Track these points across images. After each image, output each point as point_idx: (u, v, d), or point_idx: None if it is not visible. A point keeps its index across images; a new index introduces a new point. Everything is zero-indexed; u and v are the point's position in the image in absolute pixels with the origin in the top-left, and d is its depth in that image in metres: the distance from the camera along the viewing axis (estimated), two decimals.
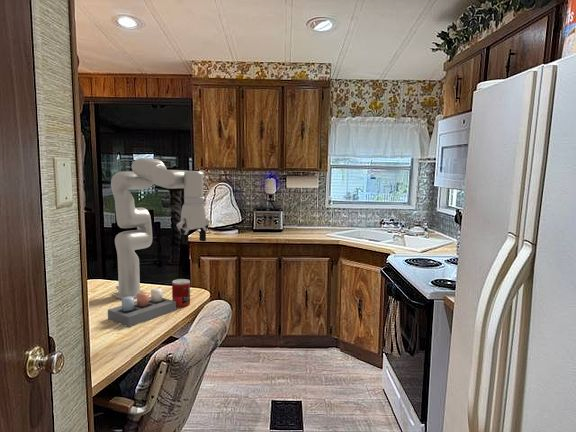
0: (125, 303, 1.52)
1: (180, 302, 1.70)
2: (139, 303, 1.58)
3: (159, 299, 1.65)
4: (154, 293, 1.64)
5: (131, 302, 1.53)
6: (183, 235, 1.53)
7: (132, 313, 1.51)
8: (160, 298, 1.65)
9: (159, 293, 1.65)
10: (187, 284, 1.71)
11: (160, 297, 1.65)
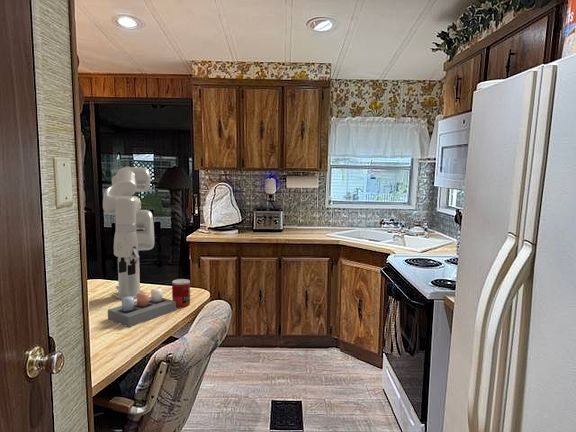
0: (125, 303, 1.52)
1: (180, 302, 1.70)
2: (139, 303, 1.58)
3: (159, 299, 1.65)
4: (154, 293, 1.64)
5: (131, 302, 1.53)
6: (133, 265, 1.51)
7: (132, 313, 1.51)
8: (160, 298, 1.65)
9: (159, 293, 1.65)
10: (187, 284, 1.71)
11: (160, 297, 1.65)
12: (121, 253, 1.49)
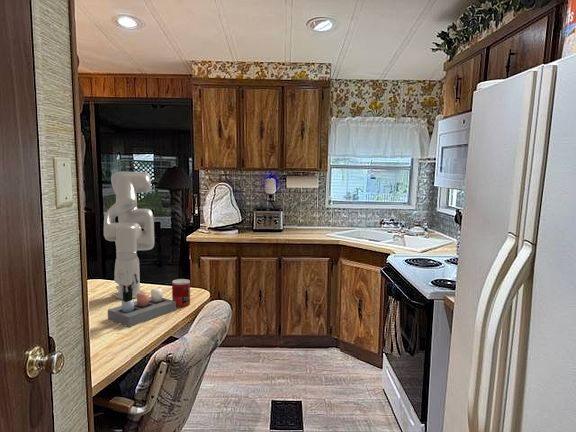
0: (125, 306, 1.52)
1: (180, 302, 1.70)
2: (139, 303, 1.58)
3: (159, 299, 1.65)
4: (154, 293, 1.64)
5: (131, 305, 1.53)
6: (130, 292, 1.53)
7: (132, 313, 1.51)
8: (160, 298, 1.65)
9: (159, 293, 1.65)
10: (187, 284, 1.71)
11: (160, 297, 1.65)
12: (122, 281, 1.50)
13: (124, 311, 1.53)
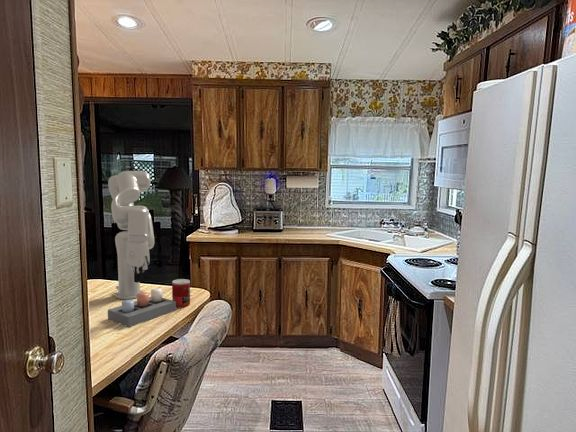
0: (125, 307, 1.52)
1: (180, 302, 1.70)
2: (139, 303, 1.58)
3: (159, 299, 1.65)
4: (154, 293, 1.64)
5: (131, 306, 1.53)
6: (141, 273, 1.58)
7: (132, 313, 1.51)
8: (160, 298, 1.65)
9: (159, 293, 1.65)
10: (187, 284, 1.71)
11: (160, 297, 1.65)
12: (133, 262, 1.55)
13: (124, 312, 1.53)
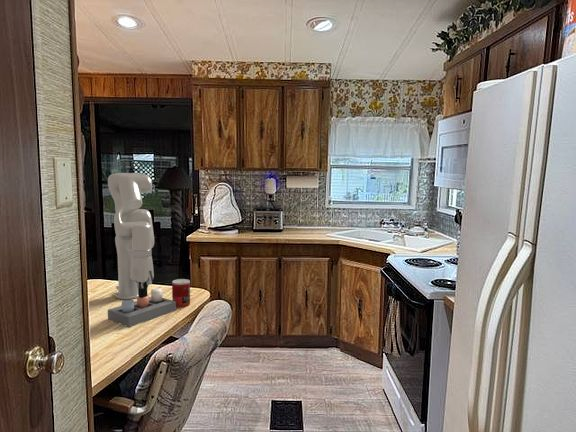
0: (125, 307, 1.52)
1: (180, 302, 1.70)
2: (139, 306, 1.58)
3: (159, 299, 1.65)
4: (154, 293, 1.64)
5: (131, 306, 1.53)
6: (145, 288, 1.59)
7: (132, 313, 1.51)
8: (160, 298, 1.65)
9: (159, 293, 1.65)
10: (187, 284, 1.71)
11: (160, 297, 1.65)
12: (137, 277, 1.56)
13: (124, 312, 1.53)
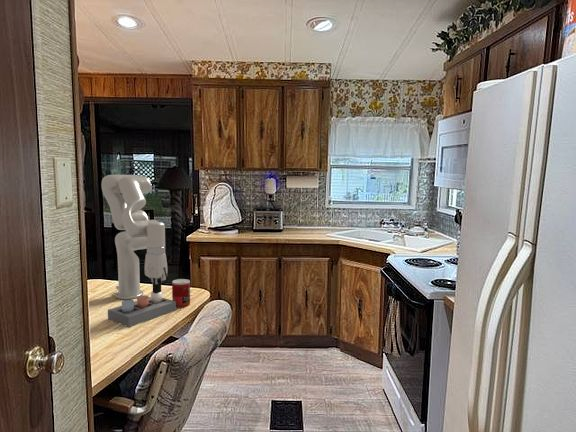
0: (125, 307, 1.52)
1: (180, 302, 1.70)
2: (139, 307, 1.58)
3: (159, 301, 1.65)
4: (154, 296, 1.64)
5: (131, 306, 1.53)
6: (159, 284, 1.65)
7: (132, 313, 1.51)
8: (160, 300, 1.65)
9: (160, 295, 1.65)
10: (187, 284, 1.71)
11: (160, 299, 1.65)
12: (152, 274, 1.62)
13: (124, 312, 1.53)
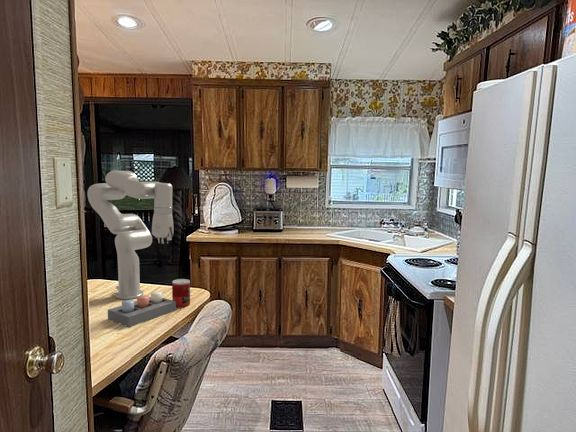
0: (125, 307, 1.52)
1: (180, 302, 1.70)
2: (139, 307, 1.58)
3: (159, 302, 1.65)
4: (154, 296, 1.64)
5: (131, 306, 1.53)
6: (165, 244, 1.70)
7: (132, 313, 1.51)
8: (160, 301, 1.65)
9: (160, 296, 1.65)
10: (187, 284, 1.71)
11: (160, 300, 1.65)
12: (158, 233, 1.67)
13: (124, 312, 1.53)
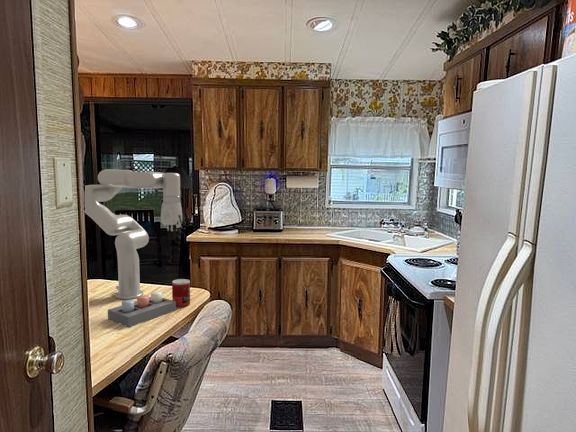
0: (125, 307, 1.52)
1: (180, 302, 1.70)
2: (139, 307, 1.58)
3: (159, 302, 1.65)
4: (154, 296, 1.64)
5: (131, 306, 1.53)
6: (174, 231, 1.76)
7: (132, 313, 1.51)
8: (160, 301, 1.65)
9: (160, 296, 1.65)
10: (187, 284, 1.71)
11: (160, 300, 1.65)
12: (168, 221, 1.74)
13: (124, 312, 1.53)
